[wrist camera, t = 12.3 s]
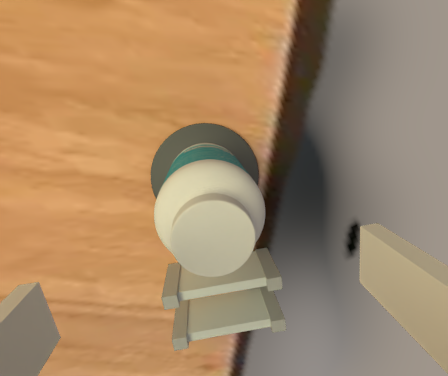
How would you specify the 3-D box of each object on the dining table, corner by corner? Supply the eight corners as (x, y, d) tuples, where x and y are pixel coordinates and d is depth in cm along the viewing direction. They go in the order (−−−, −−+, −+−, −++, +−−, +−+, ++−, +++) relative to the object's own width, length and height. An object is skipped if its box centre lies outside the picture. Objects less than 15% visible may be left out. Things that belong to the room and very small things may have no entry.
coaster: (163, 233, 29) (162, 235, 28) (140, 131, 26) (139, 132, 25) (262, 217, 29) (263, 219, 29) (251, 115, 26) (252, 116, 26)
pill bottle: (155, 164, 26) (113, 216, 13) (220, 128, 26) (242, 145, 13) (193, 224, 28) (188, 318, 16) (254, 191, 28) (301, 260, 15)
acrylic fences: (178, 310, 32) (174, 350, 26) (168, 264, 30) (161, 297, 25) (271, 293, 32) (285, 330, 27) (267, 247, 30) (281, 276, 25)
